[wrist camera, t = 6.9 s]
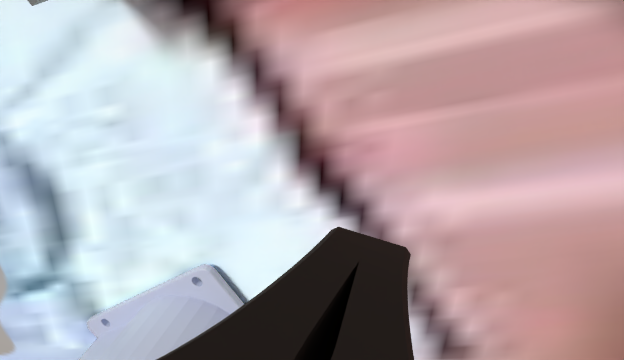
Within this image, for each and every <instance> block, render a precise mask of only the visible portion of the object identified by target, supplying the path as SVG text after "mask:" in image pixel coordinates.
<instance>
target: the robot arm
mask: <svg viewBox="0 0 624 360" xmlns="http://www.w3.org/2000/svg"><path fill="white" fill-rule="evenodd" d="M410 256H411V254H410V253H409V251H408V250H407V248H406V247H403V246H400V245H396V244H393V243H390V242H387V241H383V240H380V239H377V238H374V237H370V236H367V235H364V234H360V233H357V232H354V231H351V230H347V229H344V228H341V227H337V228H335V229H333V230H331V231H330V232H329V233H328V234H327V235H326V236H325V237H324V238H323V239H322V240H321V241H320V242H319V243H318V244H317V245H316V246H315V247H314V248H313V249H312V250H311V251H310V252H309V253H308V254H306V255H305V256H304V257H303V258H302V259H301V260H300V261H299V262H297V263H296V264H295V265H294V266H293V267H292V268H290V269H289V270H288V271H287V272H286V273H284V274H283V275H282V276H281V277H279V278H278V279H277V280H276V281H274V282H273V283H272V284H271V285H270V286H268V287H267V288H266V289H265V290H263V291H262V292H261V293H259V294H258V295H257V296H255V297H254V298H253V299H251V300H250V301H248V302H247V303H245V304H244V303H243V302H242V301H241V299H240V298H239V297H238V296H237V295H236V293H235V292H234V291H233V290H232V289H231V287H230V286H229V285H228V284H227V283H226V281H225V280H224V279H223V278H222V276H221V275H220V274H219V273H218V272H217V270H216V269H215V268H214V267H212V266H210V265H207V264H203V265H200V266H198V267H196V268H193V269H191V270H189V271H187V272H185V273H183V274H181V275H179V276H176V277H174V278H172V279H170V280H168V281H166V282H164V283H162V284H159V285H157V286H155V287H153V288H151V289H149V290H147V291H145V292H142V293H140V294H138V295H136V296H134V297H132V298H130V299H128V300H125V301H123V302H121V303H119V304H117V305H115V306H113V307H111V308H108V309H106V310H104V311H102V312H100V313H98V314H96V315H94V316H92V317H91V318H90V319H89V320H88V321H87V327H88V328H89V330H90V331H91V332H92V333H93V334H94V335H95V336H96V337H97V339H96V340H95V341H94V342H93V344H92V345H91V346H90V347H89V348H88V349H87V350H86V352H85V353H84V354H83V355H82V356H81V357H80V359H79V360H414V356H413V350H412V342H411V333H410V325H409V315H408V295H407V277H408V266H409V259H410ZM197 277H198V278H199V279H201V280H199V279H198V278H197Z"/></svg>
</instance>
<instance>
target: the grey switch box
mask: <svg viewBox="0 0 624 360" xmlns="http://www.w3.org/2000/svg"><path fill="white" fill-rule="evenodd" d="M28 1H29V3H30V4H31V5H32V6H34V5H36V4H39V3H42V2H45V1H47V0H28Z"/></svg>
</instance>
